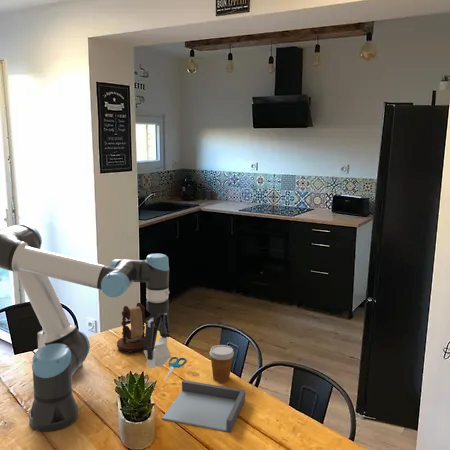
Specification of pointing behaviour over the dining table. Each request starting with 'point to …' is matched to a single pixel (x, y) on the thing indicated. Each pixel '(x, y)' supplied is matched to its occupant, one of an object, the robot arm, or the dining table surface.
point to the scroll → (132, 329)
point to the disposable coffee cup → (221, 362)
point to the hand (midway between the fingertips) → (157, 360)
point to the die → (160, 353)
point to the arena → (206, 406)
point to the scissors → (174, 365)
